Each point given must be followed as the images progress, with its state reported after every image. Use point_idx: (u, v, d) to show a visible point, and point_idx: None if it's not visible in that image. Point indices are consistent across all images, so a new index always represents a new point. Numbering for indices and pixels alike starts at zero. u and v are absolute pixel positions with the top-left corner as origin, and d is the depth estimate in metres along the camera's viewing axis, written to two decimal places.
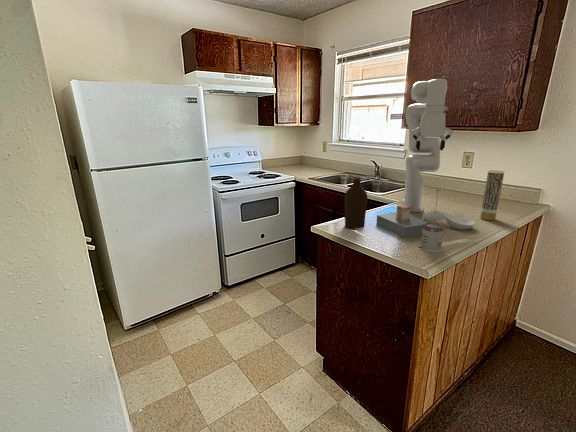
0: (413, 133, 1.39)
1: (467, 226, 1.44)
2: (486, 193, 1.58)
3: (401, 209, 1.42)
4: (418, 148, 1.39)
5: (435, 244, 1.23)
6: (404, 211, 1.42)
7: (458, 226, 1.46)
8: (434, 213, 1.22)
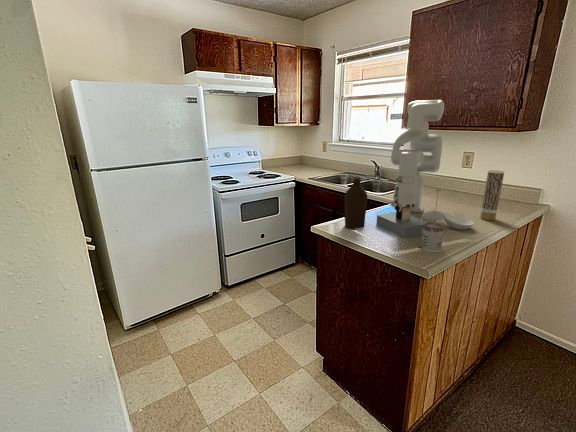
0: None
1: (465, 226, 1.44)
2: (486, 193, 1.58)
3: (401, 209, 1.42)
4: None
5: (435, 244, 1.23)
6: (404, 211, 1.42)
7: (456, 226, 1.46)
8: (434, 213, 1.22)
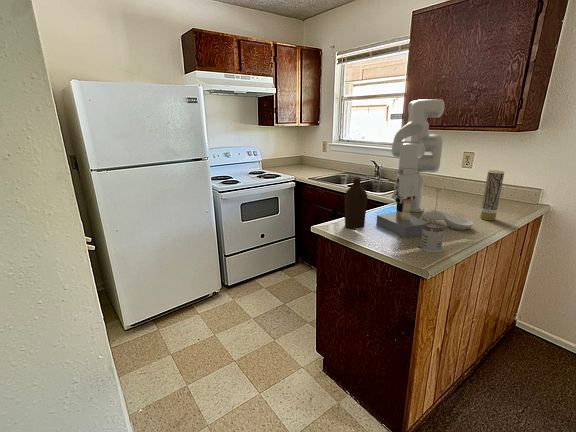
0: None
1: (464, 226, 1.44)
2: (486, 193, 1.58)
3: (402, 201, 1.41)
4: None
5: (435, 244, 1.23)
6: (405, 203, 1.41)
7: (455, 226, 1.46)
8: (434, 213, 1.22)
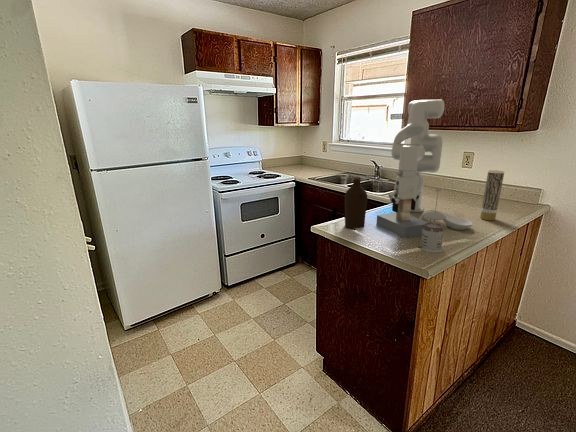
0: None
1: (463, 226, 1.44)
2: (486, 193, 1.58)
3: (402, 201, 1.41)
4: None
5: (435, 244, 1.23)
6: (405, 203, 1.41)
7: (454, 226, 1.46)
8: (434, 213, 1.22)
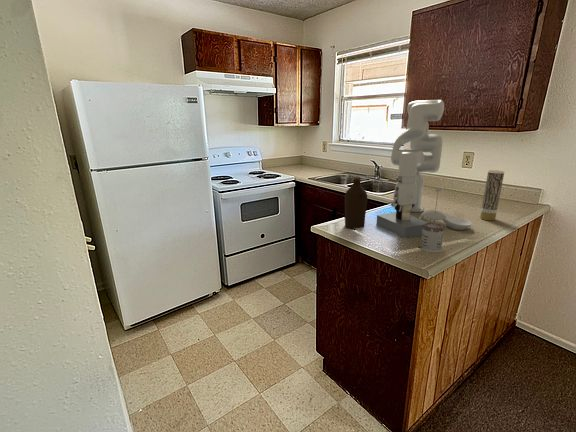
0: None
1: (463, 226, 1.44)
2: (486, 193, 1.58)
3: None
4: None
5: (435, 244, 1.23)
6: None
7: (454, 226, 1.46)
8: (434, 213, 1.22)
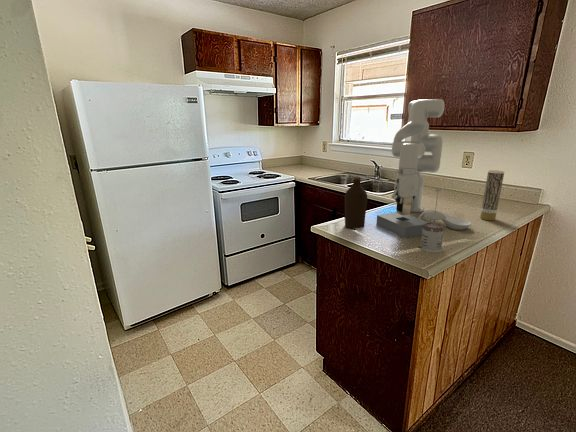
0: None
1: (462, 226, 1.44)
2: (486, 193, 1.58)
3: None
4: None
5: (435, 244, 1.23)
6: None
7: (453, 226, 1.46)
8: (434, 213, 1.22)
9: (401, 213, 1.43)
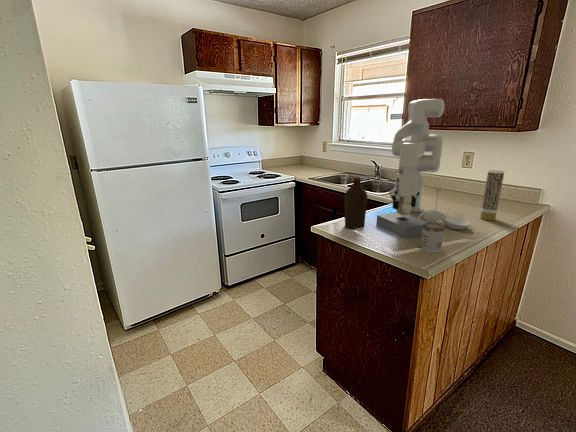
0: None
1: (461, 226, 1.44)
2: (486, 193, 1.58)
3: None
4: None
5: (435, 244, 1.23)
6: None
7: (452, 226, 1.46)
8: (434, 213, 1.22)
9: (401, 213, 1.43)
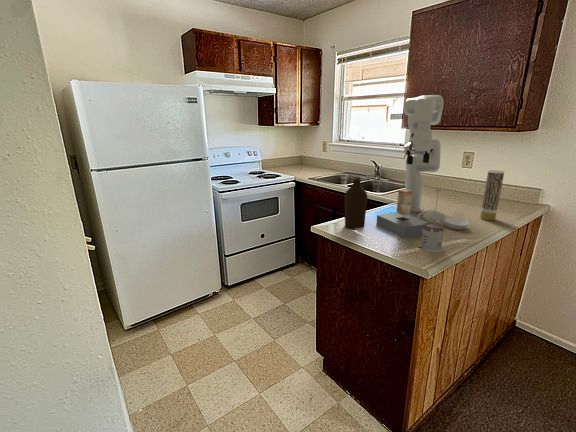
0: None
1: (459, 226, 1.44)
2: (486, 193, 1.58)
3: (403, 193, 1.40)
4: None
5: (435, 244, 1.23)
6: (406, 195, 1.39)
7: (450, 226, 1.46)
8: (434, 213, 1.22)
9: (401, 213, 1.43)
